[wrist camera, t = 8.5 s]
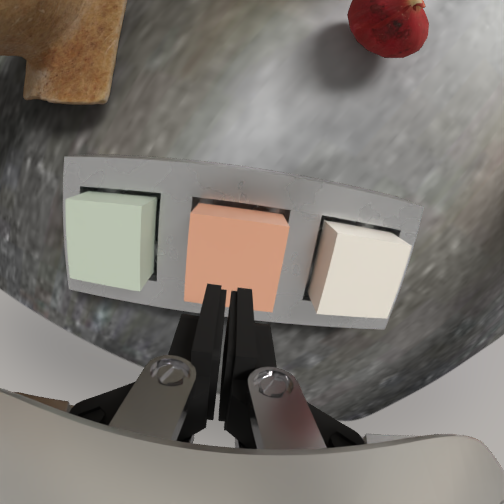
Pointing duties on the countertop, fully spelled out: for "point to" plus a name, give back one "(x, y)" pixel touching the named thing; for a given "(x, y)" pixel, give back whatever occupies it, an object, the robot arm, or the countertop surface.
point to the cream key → (357, 271)
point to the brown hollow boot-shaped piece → (63, 46)
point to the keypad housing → (239, 196)
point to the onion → (389, 26)
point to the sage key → (111, 238)
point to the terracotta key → (235, 253)
